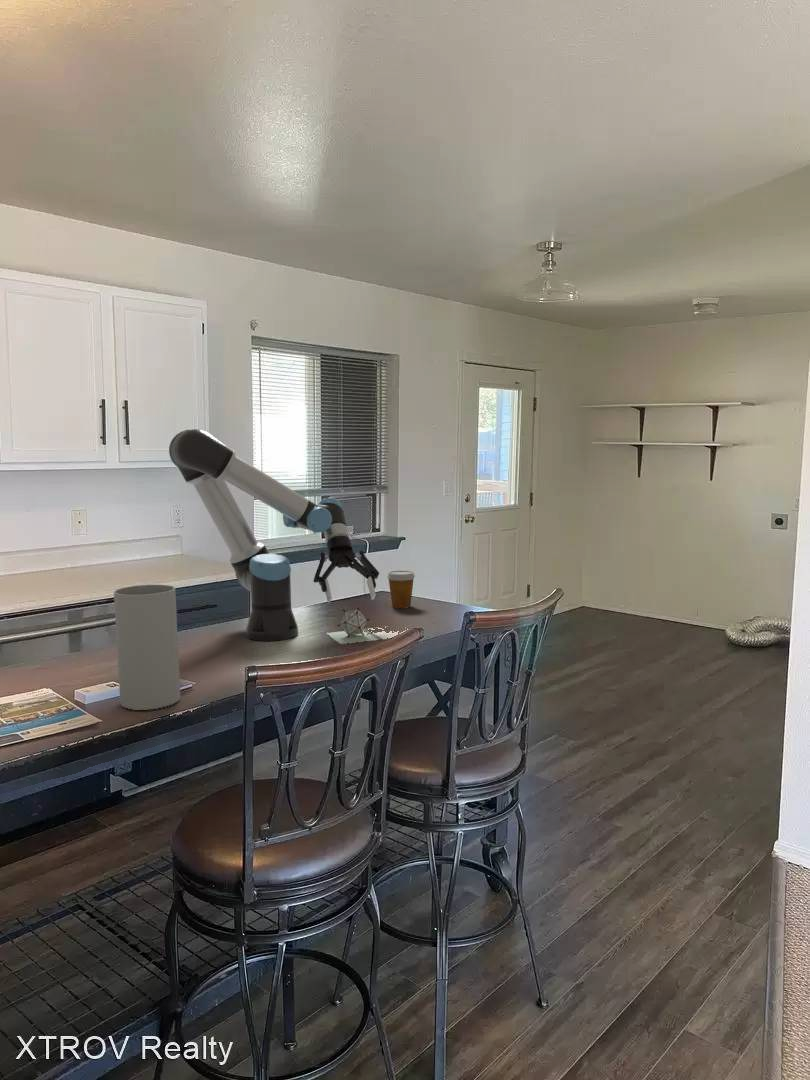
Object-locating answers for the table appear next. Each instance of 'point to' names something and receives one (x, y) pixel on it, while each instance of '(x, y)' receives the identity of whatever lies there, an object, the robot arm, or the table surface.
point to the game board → (361, 636)
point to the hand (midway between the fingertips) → (351, 598)
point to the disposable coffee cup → (401, 588)
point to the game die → (353, 622)
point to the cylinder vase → (147, 646)
